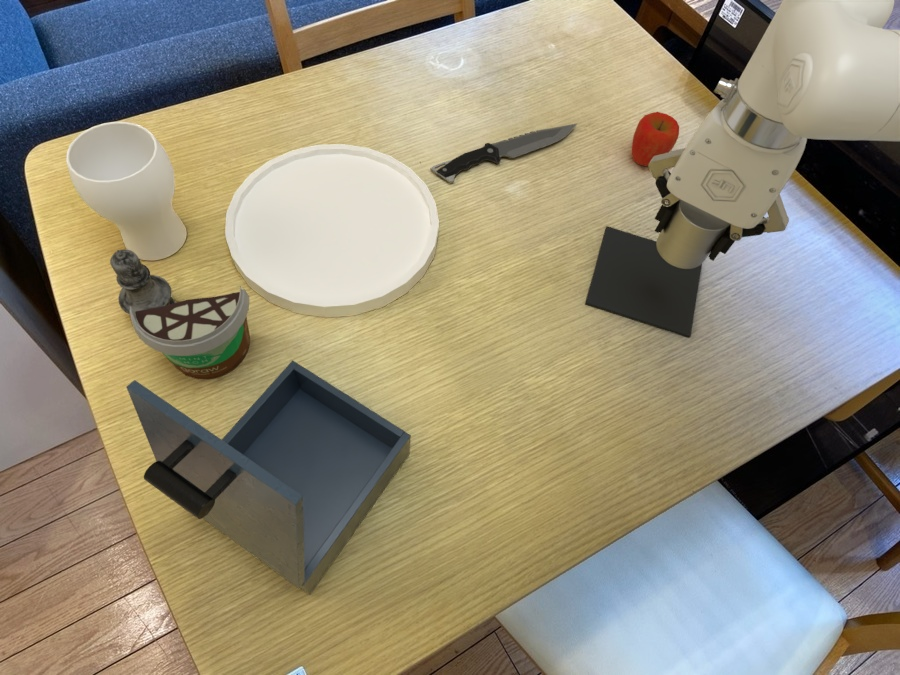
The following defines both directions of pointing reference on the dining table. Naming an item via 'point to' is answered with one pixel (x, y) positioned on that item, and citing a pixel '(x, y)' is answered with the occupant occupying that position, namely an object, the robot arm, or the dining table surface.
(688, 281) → the mat
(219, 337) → the food container
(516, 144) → the knife
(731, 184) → the robot arm
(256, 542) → the lid
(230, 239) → the plate
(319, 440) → the dark blue-grey open box
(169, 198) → the cup
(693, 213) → the brushed metal cylinder
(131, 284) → the chess piece
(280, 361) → the dining table surface
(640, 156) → the apple
